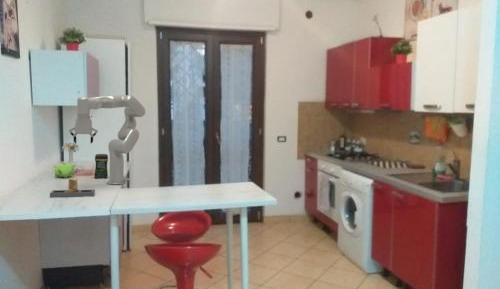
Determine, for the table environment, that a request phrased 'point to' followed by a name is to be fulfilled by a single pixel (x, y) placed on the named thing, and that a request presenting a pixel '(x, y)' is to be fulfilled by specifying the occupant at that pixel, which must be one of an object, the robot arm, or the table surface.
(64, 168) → the green lumpy round mass
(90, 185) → the table surface
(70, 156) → the flower vase
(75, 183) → the oak peg
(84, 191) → the dark grey divided tray
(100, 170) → the coffee jar
